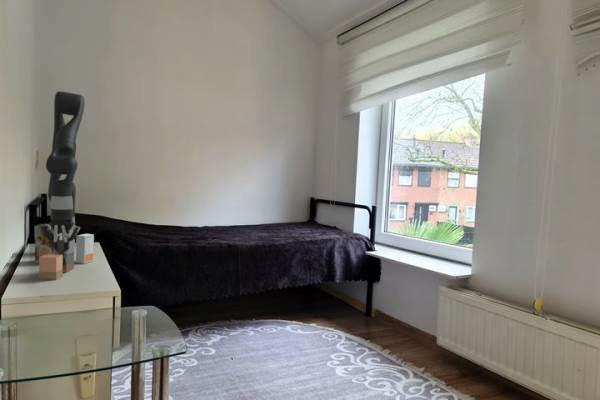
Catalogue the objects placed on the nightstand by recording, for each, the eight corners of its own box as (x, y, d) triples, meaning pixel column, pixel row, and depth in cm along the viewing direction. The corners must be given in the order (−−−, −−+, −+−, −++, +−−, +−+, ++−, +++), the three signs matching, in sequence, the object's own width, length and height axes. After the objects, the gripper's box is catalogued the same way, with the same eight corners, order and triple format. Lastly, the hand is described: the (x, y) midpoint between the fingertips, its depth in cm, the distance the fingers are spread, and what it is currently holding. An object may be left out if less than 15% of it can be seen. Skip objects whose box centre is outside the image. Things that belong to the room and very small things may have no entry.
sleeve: (62, 268, 177) (62, 252, 176) (73, 268, 177) (73, 252, 177) (54, 272, 170) (54, 256, 169) (66, 272, 170) (66, 256, 170)
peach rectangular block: (45, 276, 165) (45, 254, 164) (62, 276, 166) (62, 254, 165) (39, 279, 160) (39, 257, 159) (56, 280, 161) (56, 257, 160)
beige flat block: (61, 260, 174) (61, 239, 173) (68, 260, 174) (68, 239, 173) (46, 267, 162) (46, 245, 161) (54, 268, 162) (54, 245, 161)
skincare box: (84, 264, 185) (84, 236, 184) (75, 263, 186) (75, 235, 185) (94, 261, 191) (94, 234, 190) (85, 260, 192) (85, 233, 191)
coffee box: (63, 260, 189) (63, 224, 188) (56, 264, 183) (56, 226, 181) (41, 260, 188) (41, 223, 187) (33, 263, 182) (33, 225, 180)
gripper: (38, 207, 165) (38, 252, 166) (76, 209, 166) (76, 253, 168) (47, 205, 172) (47, 248, 174) (84, 207, 174) (84, 249, 175)
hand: (61, 250), depth 171 cm, fingers closed on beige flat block, 2 cm apart
